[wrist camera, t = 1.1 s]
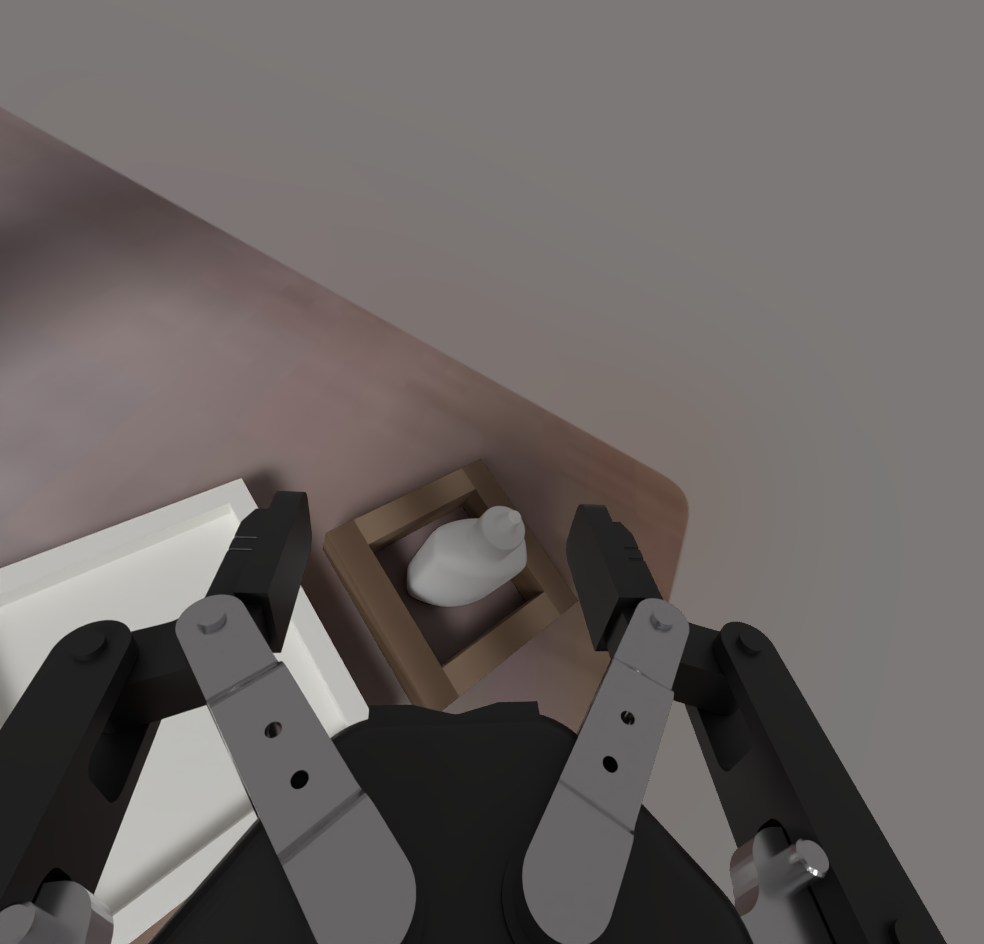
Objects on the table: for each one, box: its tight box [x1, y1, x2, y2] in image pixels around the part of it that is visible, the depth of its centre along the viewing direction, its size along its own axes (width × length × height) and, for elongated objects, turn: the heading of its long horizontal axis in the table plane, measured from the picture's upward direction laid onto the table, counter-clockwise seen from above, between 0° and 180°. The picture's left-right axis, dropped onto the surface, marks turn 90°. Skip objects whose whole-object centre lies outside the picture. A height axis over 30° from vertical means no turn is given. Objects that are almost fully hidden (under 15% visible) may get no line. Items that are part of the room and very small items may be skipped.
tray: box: [0, 478, 369, 944], centre depth 24 cm, size 15×17×2 cm
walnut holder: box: [323, 459, 578, 711], centre depth 31 cm, size 12×12×3 cm
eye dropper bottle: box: [407, 506, 527, 607], centre depth 28 cm, size 4×6×12 cm
